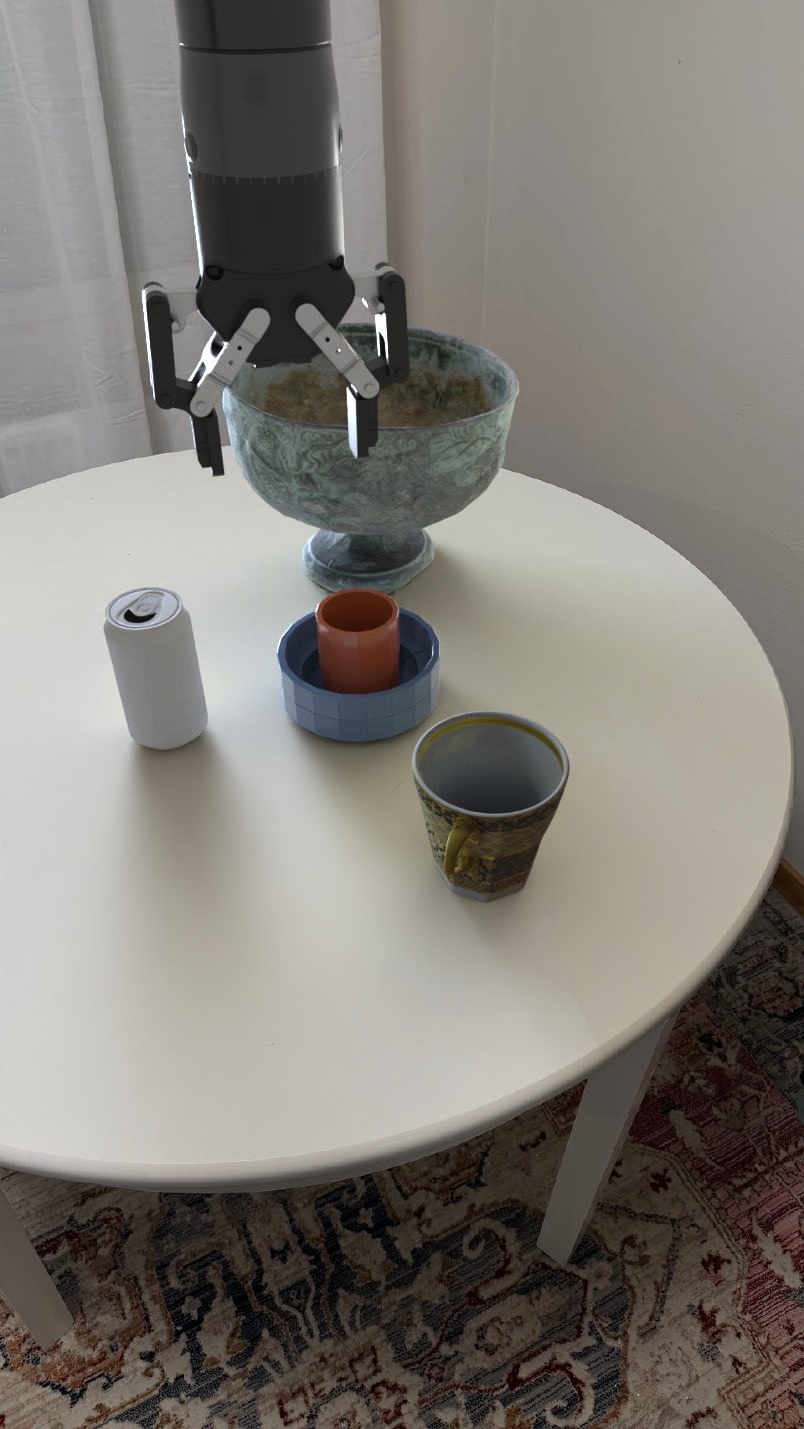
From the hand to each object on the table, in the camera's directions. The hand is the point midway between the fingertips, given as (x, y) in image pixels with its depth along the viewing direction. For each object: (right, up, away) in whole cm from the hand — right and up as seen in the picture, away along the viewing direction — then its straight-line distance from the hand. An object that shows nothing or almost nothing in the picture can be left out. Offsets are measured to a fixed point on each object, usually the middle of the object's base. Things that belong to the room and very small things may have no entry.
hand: (288, 461), depth 60 cm
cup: (+3, -13, +25) cm, 28 cm away
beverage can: (-12, -16, +23) cm, 30 cm away
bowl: (+3, -13, +25) cm, 29 cm away
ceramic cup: (+12, -27, +10) cm, 31 cm away
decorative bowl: (+4, +1, +42) cm, 42 cm away
